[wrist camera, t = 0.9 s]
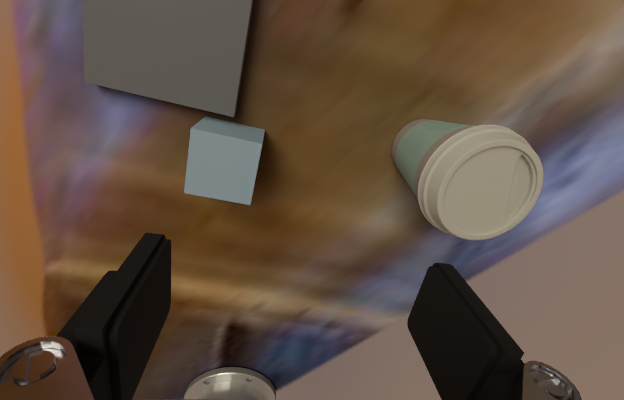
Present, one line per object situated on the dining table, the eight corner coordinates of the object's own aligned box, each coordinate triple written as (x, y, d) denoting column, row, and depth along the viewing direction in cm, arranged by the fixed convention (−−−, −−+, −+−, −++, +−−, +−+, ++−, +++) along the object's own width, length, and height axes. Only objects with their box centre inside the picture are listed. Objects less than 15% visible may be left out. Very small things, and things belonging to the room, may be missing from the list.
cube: (254, 182, 32) (250, 205, 27) (198, 171, 31) (184, 193, 26) (264, 129, 30) (262, 144, 25) (205, 115, 29) (190, 128, 24)
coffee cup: (427, 198, 35) (494, 262, 24) (362, 165, 33) (404, 220, 22) (476, 129, 32) (578, 166, 21) (410, 87, 30) (485, 105, 19)
